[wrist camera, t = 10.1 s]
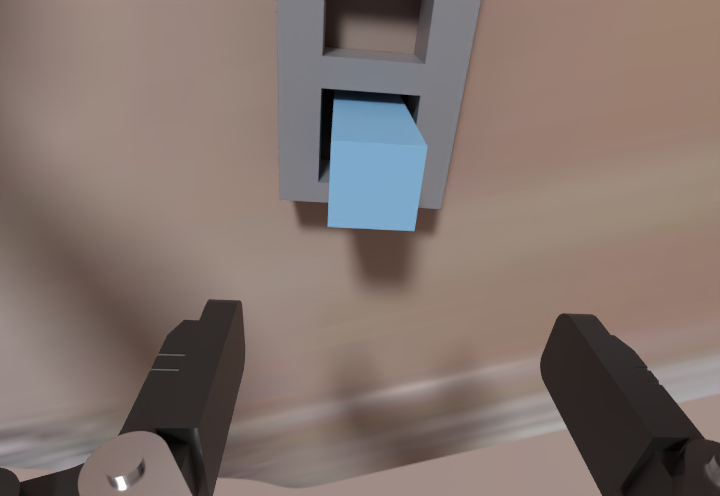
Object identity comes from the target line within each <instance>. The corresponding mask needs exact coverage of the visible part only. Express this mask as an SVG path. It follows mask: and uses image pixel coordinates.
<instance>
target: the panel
mask: <svg viewBox="0 0 720 496" xmlns="http://www.w3.org/2000/svg"><path fill="white" fill-rule="evenodd" d="M480 2H481V0H421V7H420V14H419V22H418V30H417V37H416V45H415V52H414V54H404V53H392V52H380V51H368V50H356V49H344V48H332V47H325V27H326V0H277V57H278V124H279V192H280V200H289V201H307V202H324V203H329V179H330V160H321V140H322V111H323V88H326V89H339V90H352V91H365V92H378V93H392V94H405V95H409V98H408V106H407V109H408V111H409V113H410V115H411V117H412V119H413V120H414V122H415V124H416V126H417V128H418V130H419V131H420V133H421V135H422V137H423V139H424V141H425V142H426V144H427V146H428V148H427V154H426V160H425V167H424V173H423V180H422V186H421V192H420V199H419V205H418V208H430V209H441V206H442V200H443V195H444V190H445V185H446V179H447V174H448V169H449V164H450V159H451V153H452V148H453V143H454V138H455V132H456V127H457V122H458V117H459V112H460V106H461V101H462V96H463V91H464V85H465V80H466V75H467V70H468V65H469V59H470V54H471V49H472V44H473V38H474V33H475V28H476V23H477V17H478V12H479V7H480Z"/></svg>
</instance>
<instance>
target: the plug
mask: <svg viewBox="0 0 720 496" xmlns="http://www.w3.org/2000/svg"><path fill="white" fill-rule="evenodd" d="M427 148H428V146H427V144H426V142H425V141H424V139H423V137H422V135H421V133H420V131H419V130H418V128H417V126H416V124H415V122H414V120H413V119H412V117H411V115H410V113H409V111H408V109H407V107H406V106H405V104H404V102H403V100H402V98H401V96H400V95H399V94H392V93H378V92H365V91H352V90H339V89H335V91H334V105H333V120H332V135H331V155H330V179H329V203H328V227H339V228H360V229H380V230H401V231H415V224H416V218H417V212H418V205H419V199H420V192H421V186H422V180H423V173H424V167H425V160H426V154H427Z"/></svg>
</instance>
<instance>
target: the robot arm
mask: <svg viewBox="0 0 720 496" xmlns="http://www.w3.org/2000/svg"><path fill="white" fill-rule="evenodd" d="M244 362H245V338H244V324H243V311H242V303H241V301H238V300H211V299H210V300H208V301H207V303H206V306H205V308H204V310H203V313H202V315H201V318H200V320H199V321H197V320H184V321H183V322H181V323H180V324H179V325H178V326H177V327H176V328H175V329H174V330H173V331H171V332H170V333H169V334H168V335H167V337H166V339H165V341H164V343H163V346H162V348H161V350H160V352H159V356H157V358H156V360H155V362H154V364H153V366H152V371H150V372H149V374H148V376H147V378H146V380H145V383H144V385H143V387H142V389H141V391H140V393H139V395H138V397H137V399H136V401H135V403H134V405H133V407H132V409H131V411H130V413H129V415H128V418H127V420H126V422H125V424H124V426H123V428H122V430H121V431H120V433H119V435H118V436H117V437H114V438H112V439H111V440H109V441H107V442H106V443H104V444H103V445H101V446H100V447H99V448H98V449H96V450H95V451H94V452H93V453H92V454H91V455H90V457H89V458H88V459H87V461H86V462H85V463H83V464H81V465H78V466H76V467H73V468H70V469H67V470H64V471H60V472H56V473H53V474H49V475H45V476H41V477H38V478H34V479H30V480H27V481H23V482H19V480H18V478H17V476H16V475H15V474H14V473H13V472H12V471H9V470H7V469H4V468H0V496H213V493H214V488H215V484H216V480H217V476H218V472H219V468H220V464H221V460H222V456H223V452H224V448H225V444H226V440H227V435H228V431H229V427H230V423H231V419H232V415H233V411H234V407H235V403H236V399H237V395H238V391H239V387H240V383H241V378H242V374H243V369H244ZM540 370H541V376H542V379H543V381H544V384H545V385H546V387H547V389H548V391H549V393H550V395H551V397H552V399H553V401H554V403H555V405H556V407H557V409H558V411H559V413H560V415H561V417H562V418H563V420H564V422H565V424H566V426H567V428H568V430H569V432H570V434H571V436H572V438H573V440H574V441H575V444H576V446H577V447H578V449H579V451H580V453H581V455H582V457H583V459H584V461H585V463H586V465H587V467H588V469H589V471H590V473H591V475H592V476H593V479H594V481H595V482H596V484H597V486H598V488H599V490H600V492H601V494H602V496H720V443H719V442H715V441H713V440H707V439H705V438H704V437H703V436H702V435H701V433H700V432H699V431H698V429H697V428H696V427H695V426H694V424H693V423H692V422H691V421H690V419H689V418H688V417H687V416H686V414H685V413H684V412H683V411H682V410H681V408H680V407H679V406H678V405H677V403H676V402H675V401H674V400H673V398H672V397H671V396H670V395H669V393H668V392H667V391H666V390H665V388H664V387H663V386H662V385H659V381H658V380H657V378H656V377H655V376H654V375H653V374H652V372H651V371H648V370H647V366H646V365H645V364H644V362H643V361H642V360H641V359H640V357H639V356H638V355H637V354H636V352H635V351H634V350H633V349H631V348H630V347H629V346H628V345H626V344H625V343H624V342H622V341H621V340H620V339H618V338H617V337H616V336H614V335H610V334H609V332H608V331H607V330H606V328H605V327H604V326H603V325H602V323H601V322H600V321H599V319H598V318H597V317H596V316H594V315H591V314H565V313H563V314H561V315H559V316H558V318H557V319H556V322H555V324H554V327H553V329H552V332H551V334H550V337H549V339H548V342H547V344H546V347H545V349H544V352H543V354H542V357H541V362H540Z"/></svg>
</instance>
